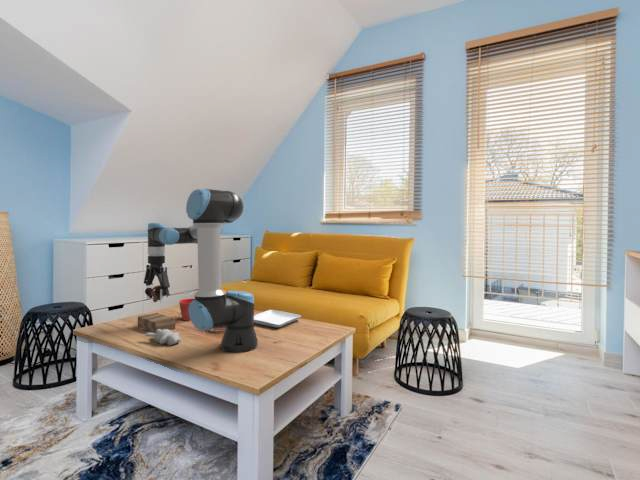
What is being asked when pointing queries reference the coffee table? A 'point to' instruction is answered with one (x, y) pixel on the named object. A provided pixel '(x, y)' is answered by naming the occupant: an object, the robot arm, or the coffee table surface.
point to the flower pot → (185, 308)
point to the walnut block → (156, 322)
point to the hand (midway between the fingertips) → (156, 300)
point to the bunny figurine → (165, 336)
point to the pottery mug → (155, 293)
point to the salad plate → (275, 318)
